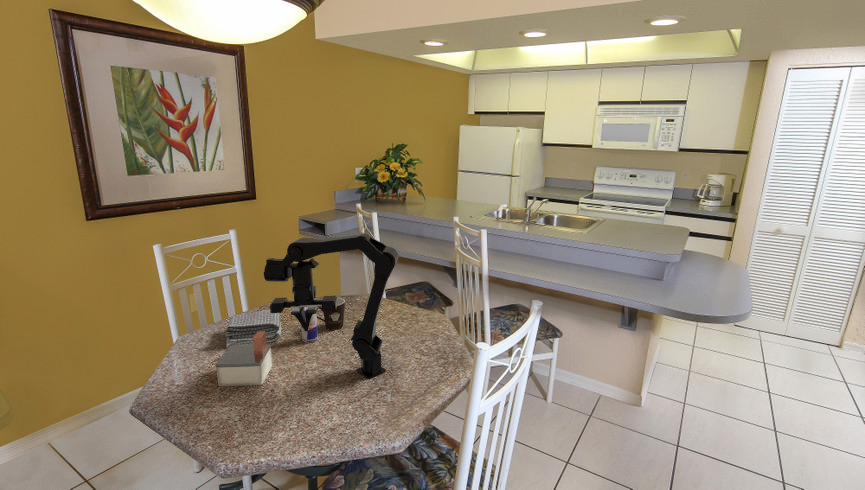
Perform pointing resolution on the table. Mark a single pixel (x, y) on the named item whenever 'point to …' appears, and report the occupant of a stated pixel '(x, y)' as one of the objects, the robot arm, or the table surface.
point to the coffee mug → (334, 316)
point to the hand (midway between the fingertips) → (306, 330)
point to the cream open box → (245, 373)
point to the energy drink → (310, 329)
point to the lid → (246, 353)
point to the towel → (253, 327)
